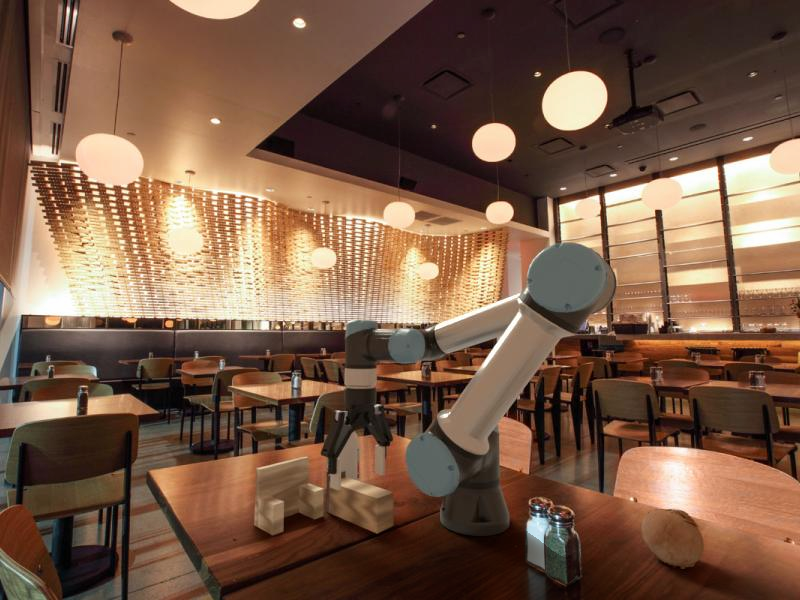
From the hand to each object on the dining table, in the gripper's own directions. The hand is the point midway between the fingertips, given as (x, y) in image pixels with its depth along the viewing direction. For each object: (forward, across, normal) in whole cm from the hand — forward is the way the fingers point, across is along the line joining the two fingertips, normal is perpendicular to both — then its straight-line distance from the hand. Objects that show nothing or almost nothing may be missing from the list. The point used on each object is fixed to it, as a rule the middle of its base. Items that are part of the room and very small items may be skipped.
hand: (358, 480), depth 95 cm
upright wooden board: (+8, +11, -11) cm, 17 cm away
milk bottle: (+9, -11, -17) cm, 22 cm away
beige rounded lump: (+7, -25, +57) cm, 62 cm away
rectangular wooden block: (+8, 0, +1) cm, 8 cm away
